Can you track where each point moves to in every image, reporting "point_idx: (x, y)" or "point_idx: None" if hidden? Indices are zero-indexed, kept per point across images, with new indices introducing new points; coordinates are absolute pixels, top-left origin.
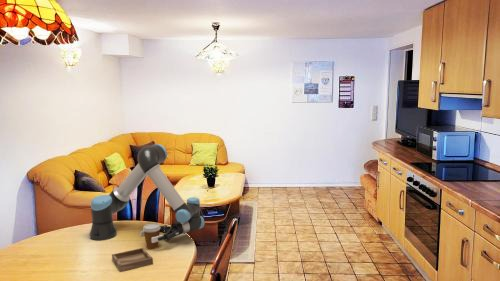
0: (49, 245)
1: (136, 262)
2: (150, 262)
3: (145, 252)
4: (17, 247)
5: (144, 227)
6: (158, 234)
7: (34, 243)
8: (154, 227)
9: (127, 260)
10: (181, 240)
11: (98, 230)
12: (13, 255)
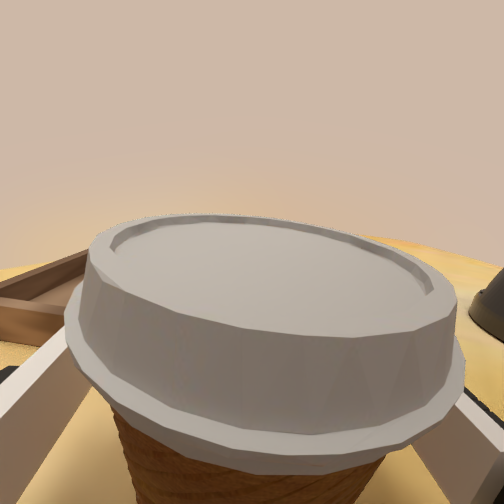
0: (419, 259)
1: (54, 262)
2: None
3: None
4: (413, 245)
5: (269, 218)
6: (118, 429)
7: (437, 255)
8: (182, 251)
9: None
10: None
11: (497, 275)
12: (369, 238)
